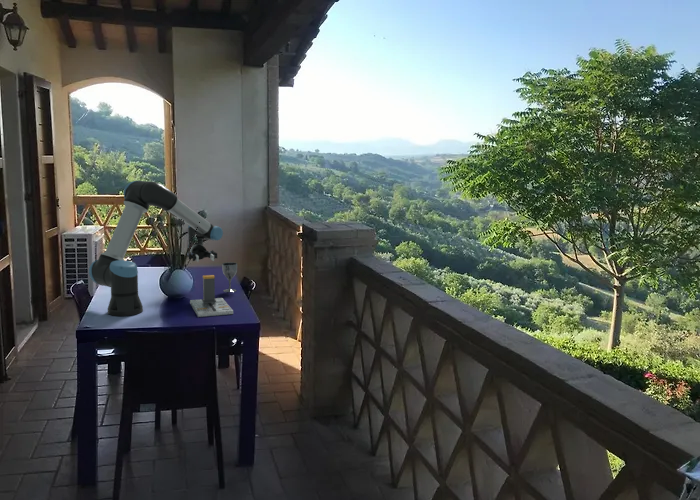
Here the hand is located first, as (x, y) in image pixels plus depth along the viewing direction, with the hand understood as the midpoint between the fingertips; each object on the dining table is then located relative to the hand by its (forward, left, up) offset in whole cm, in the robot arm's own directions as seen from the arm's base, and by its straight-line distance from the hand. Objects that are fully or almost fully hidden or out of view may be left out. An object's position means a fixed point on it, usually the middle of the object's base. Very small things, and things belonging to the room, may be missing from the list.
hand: (205, 258), depth 282 cm
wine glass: (+16, +21, -22) cm, 34 cm away
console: (0, -13, -22) cm, 26 cm away
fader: (0, -8, -20) cm, 21 cm away
